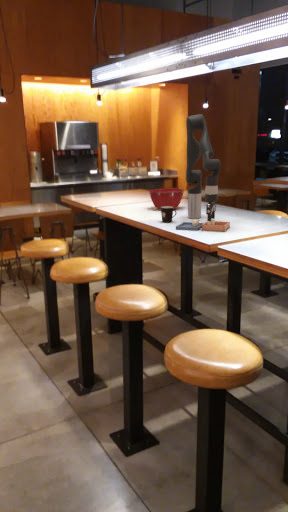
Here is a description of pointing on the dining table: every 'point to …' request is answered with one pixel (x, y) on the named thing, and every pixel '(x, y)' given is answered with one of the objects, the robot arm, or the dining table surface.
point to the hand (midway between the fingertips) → (211, 219)
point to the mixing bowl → (166, 197)
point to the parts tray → (188, 226)
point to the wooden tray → (216, 226)
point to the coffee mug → (167, 214)
